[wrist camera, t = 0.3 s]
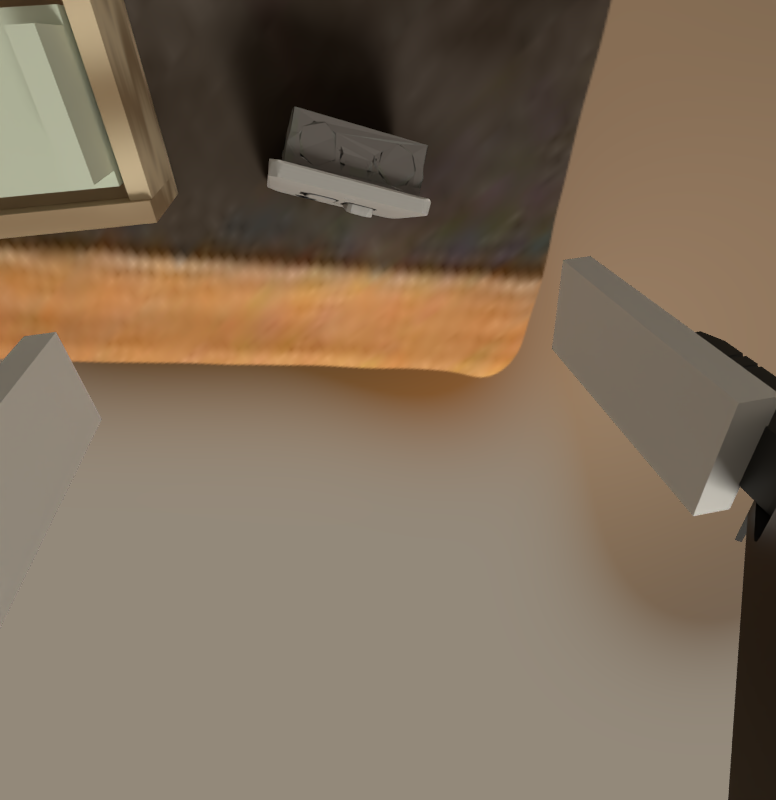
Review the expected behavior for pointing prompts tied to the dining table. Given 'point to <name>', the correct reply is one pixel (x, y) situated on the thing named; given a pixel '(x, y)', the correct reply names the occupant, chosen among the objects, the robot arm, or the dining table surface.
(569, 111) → the dining table surface
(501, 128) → the dining table surface
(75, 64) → the lid
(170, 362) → the dining table surface
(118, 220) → the pencil box
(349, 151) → the electrical switch
